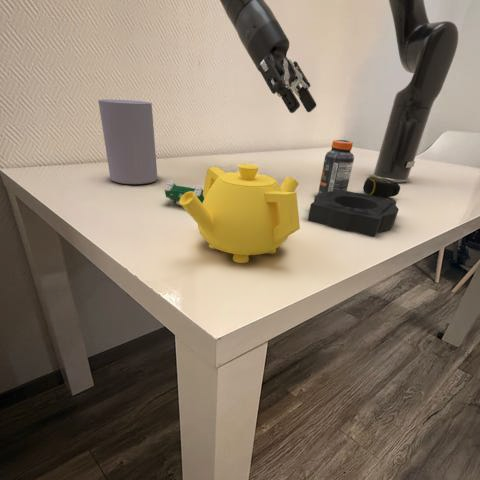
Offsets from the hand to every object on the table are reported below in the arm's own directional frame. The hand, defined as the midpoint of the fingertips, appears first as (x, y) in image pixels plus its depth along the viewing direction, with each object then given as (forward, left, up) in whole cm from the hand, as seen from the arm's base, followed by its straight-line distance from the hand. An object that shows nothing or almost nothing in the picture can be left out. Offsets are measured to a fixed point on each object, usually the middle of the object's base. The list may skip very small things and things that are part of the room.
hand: (304, 109), depth 68 cm
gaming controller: (+26, -10, -16) cm, 32 cm away
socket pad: (+11, +17, -16) cm, 26 cm away
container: (+20, -31, -16) cm, 40 cm away
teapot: (+36, +9, -16) cm, 41 cm away
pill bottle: (0, +9, -16) cm, 19 cm away
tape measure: (-10, +17, -16) cm, 26 cm away
